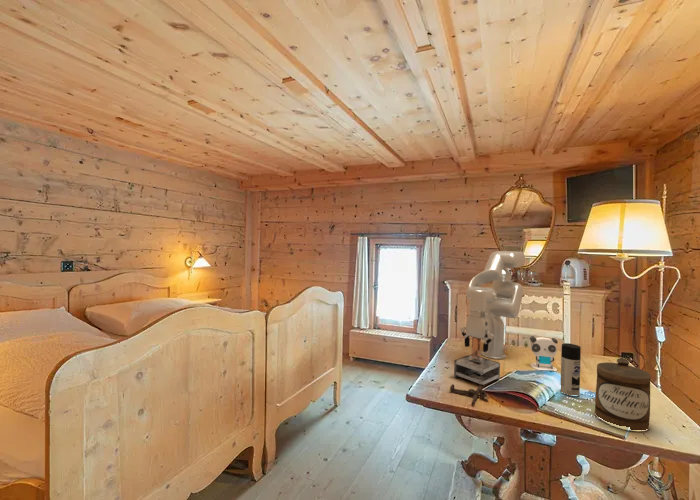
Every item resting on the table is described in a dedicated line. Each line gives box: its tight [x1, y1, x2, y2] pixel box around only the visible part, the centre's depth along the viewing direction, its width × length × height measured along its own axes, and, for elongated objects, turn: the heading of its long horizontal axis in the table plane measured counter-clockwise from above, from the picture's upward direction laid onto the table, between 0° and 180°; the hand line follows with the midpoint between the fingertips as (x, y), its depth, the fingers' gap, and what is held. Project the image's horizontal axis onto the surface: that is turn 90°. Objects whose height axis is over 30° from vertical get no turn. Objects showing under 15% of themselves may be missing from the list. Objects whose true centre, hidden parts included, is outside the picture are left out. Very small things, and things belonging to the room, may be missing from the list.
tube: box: [471, 337, 482, 357], centre depth 166 cm, size 4×4×17 cm
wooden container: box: [594, 357, 652, 430], centre depth 118 cm, size 15×15×22 cm
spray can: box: [560, 342, 582, 396], centre depth 139 cm, size 7×7×20 cm
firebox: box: [453, 353, 501, 386], centre depth 151 cm, size 14×14×8 cm
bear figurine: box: [449, 383, 490, 405], centre depth 135 cm, size 18×4×14 cm
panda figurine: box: [529, 335, 559, 372], centre depth 168 cm, size 12×11×15 cm
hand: (476, 348), depth 165 cm, fingers open, 9 cm apart
